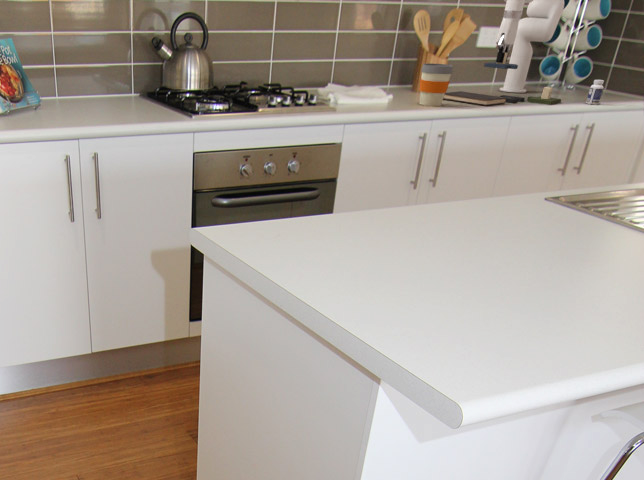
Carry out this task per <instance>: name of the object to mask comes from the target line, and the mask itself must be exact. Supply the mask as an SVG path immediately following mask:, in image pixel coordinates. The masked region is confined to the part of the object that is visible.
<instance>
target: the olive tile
mask: <svg viewBox="0 0 644 480" xmlns="http://www.w3.org/2000/svg"><path fill="white" fill-rule="evenodd" d="M553 90H554V87H549V86H544V87H543V90H542V94H541V95H540V96H527V99H526V101H528V103H534V104H542V105H549V106H551V105H555V104H560V103H562V98H556V97H552V94H553Z"/></svg>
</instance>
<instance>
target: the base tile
mask: <svg viewBox="0 0 644 480" xmlns="http://www.w3.org/2000/svg"><path fill="white" fill-rule="evenodd" d="M497 97H504V98H506V102H505V103H507V104H516V103H517V102H518V103H521V102H522V103H523V102H525V99H526V97H523V96H514V95H507V94H502V95H499V96H498V95H497Z"/></svg>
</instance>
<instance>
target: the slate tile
mask: <svg viewBox="0 0 644 480" xmlns="http://www.w3.org/2000/svg"><path fill="white" fill-rule="evenodd" d="M507 55H508V56H509V54H508V53H505V56H504V60H503V63H499V62H496V61H494V62H484V65H483V67H485V68H490V69H491V68H493V69H503V70H508V69H517V67H518V65H517V64H509V62H508V63H507V62H506V59H507V60H508V58H507Z"/></svg>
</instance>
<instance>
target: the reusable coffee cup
mask: <svg viewBox="0 0 644 480" xmlns="http://www.w3.org/2000/svg"><path fill="white" fill-rule="evenodd" d="M453 68H454V65H452V64H446V63H445V64H444V63H432V62H431V63H429V62H428V63H423V64H422V67H421V71H420V72H421V76H420V77H421V78H420V79H419V105H422V106H427V107H428V106H429V107H441V106H442V104H443V100H444V99H443V98H444V94H445V93H447V91H448V88H449V85H450V82H451V81H450V78H451V75H452V74H453Z"/></svg>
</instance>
